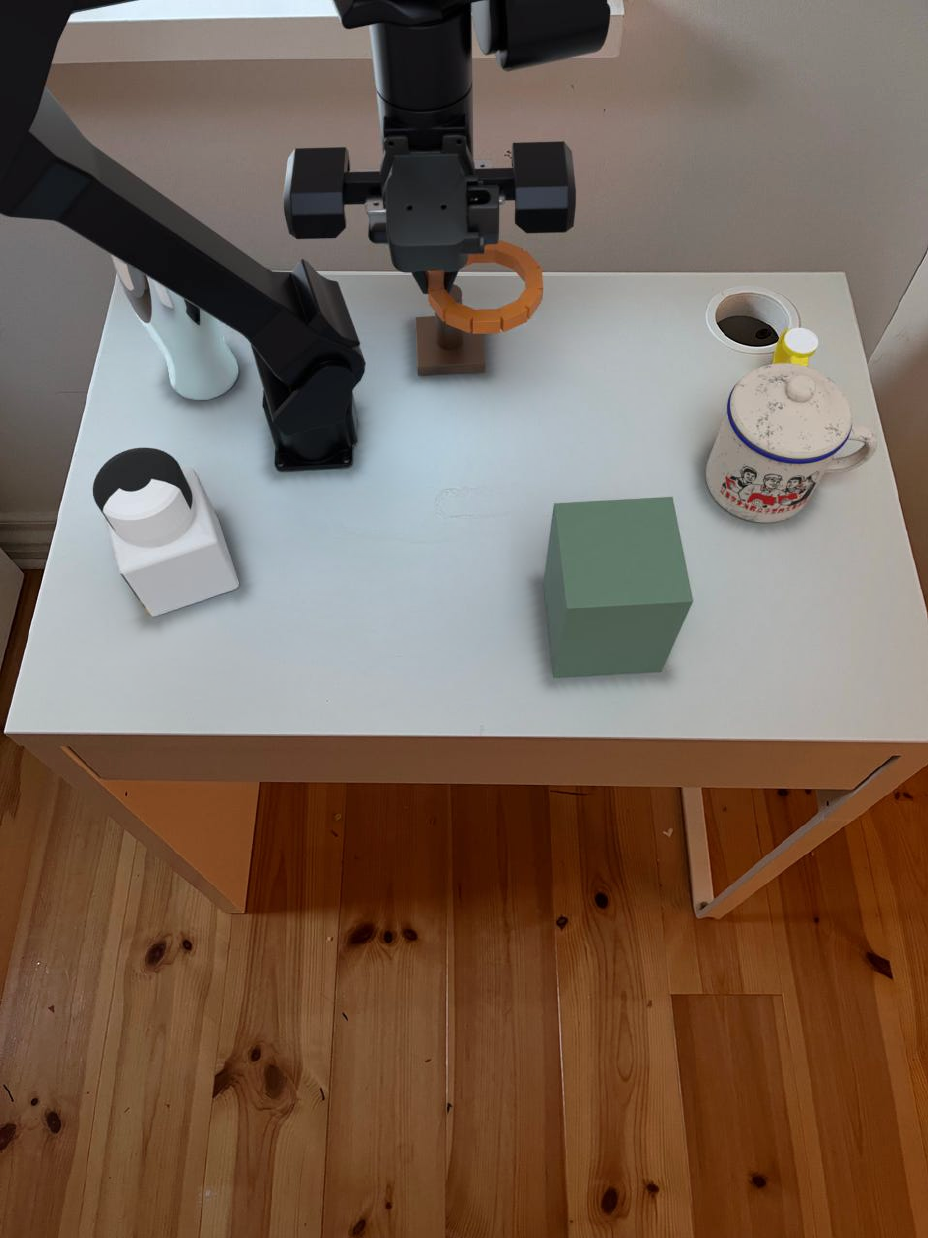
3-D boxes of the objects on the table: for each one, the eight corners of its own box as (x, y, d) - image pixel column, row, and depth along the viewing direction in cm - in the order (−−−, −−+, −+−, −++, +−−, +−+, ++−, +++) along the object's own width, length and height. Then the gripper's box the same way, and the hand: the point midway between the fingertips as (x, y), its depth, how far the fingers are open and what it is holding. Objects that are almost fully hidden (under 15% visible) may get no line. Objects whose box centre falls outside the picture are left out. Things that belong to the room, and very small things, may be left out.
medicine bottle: (131, 546, 72) (71, 453, 61) (218, 518, 73) (173, 421, 62) (151, 619, 69) (91, 535, 58) (241, 589, 70) (198, 500, 59)
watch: (761, 361, 80) (781, 310, 74) (792, 363, 80) (815, 312, 74) (765, 414, 77) (786, 365, 72) (798, 416, 77) (821, 367, 71)
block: (553, 678, 66) (566, 608, 56) (543, 584, 70) (553, 502, 60) (661, 672, 66) (693, 601, 56) (645, 578, 70) (672, 496, 60)
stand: (417, 376, 79) (413, 321, 74) (415, 326, 82) (411, 269, 76) (485, 372, 79) (486, 317, 74) (480, 323, 82) (481, 265, 76)
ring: (428, 335, 65) (427, 322, 64) (429, 253, 68) (428, 240, 67) (544, 332, 64) (545, 319, 63) (538, 250, 68) (539, 237, 67)
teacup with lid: (701, 522, 72) (739, 428, 62) (701, 432, 76) (736, 331, 66) (854, 535, 71) (918, 443, 61) (844, 444, 75) (903, 343, 65)
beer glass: (251, 347, 81) (206, 203, 68) (234, 407, 78) (184, 268, 65) (176, 343, 82) (117, 198, 68) (156, 402, 78) (91, 263, 65)
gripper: (251, 176, 49) (303, 376, 63) (594, 167, 49) (569, 370, 62) (269, 53, 54) (313, 263, 68) (579, 45, 54) (559, 257, 68)
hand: (436, 289), depth 66 cm, fingers closed on ring, 1 cm apart
